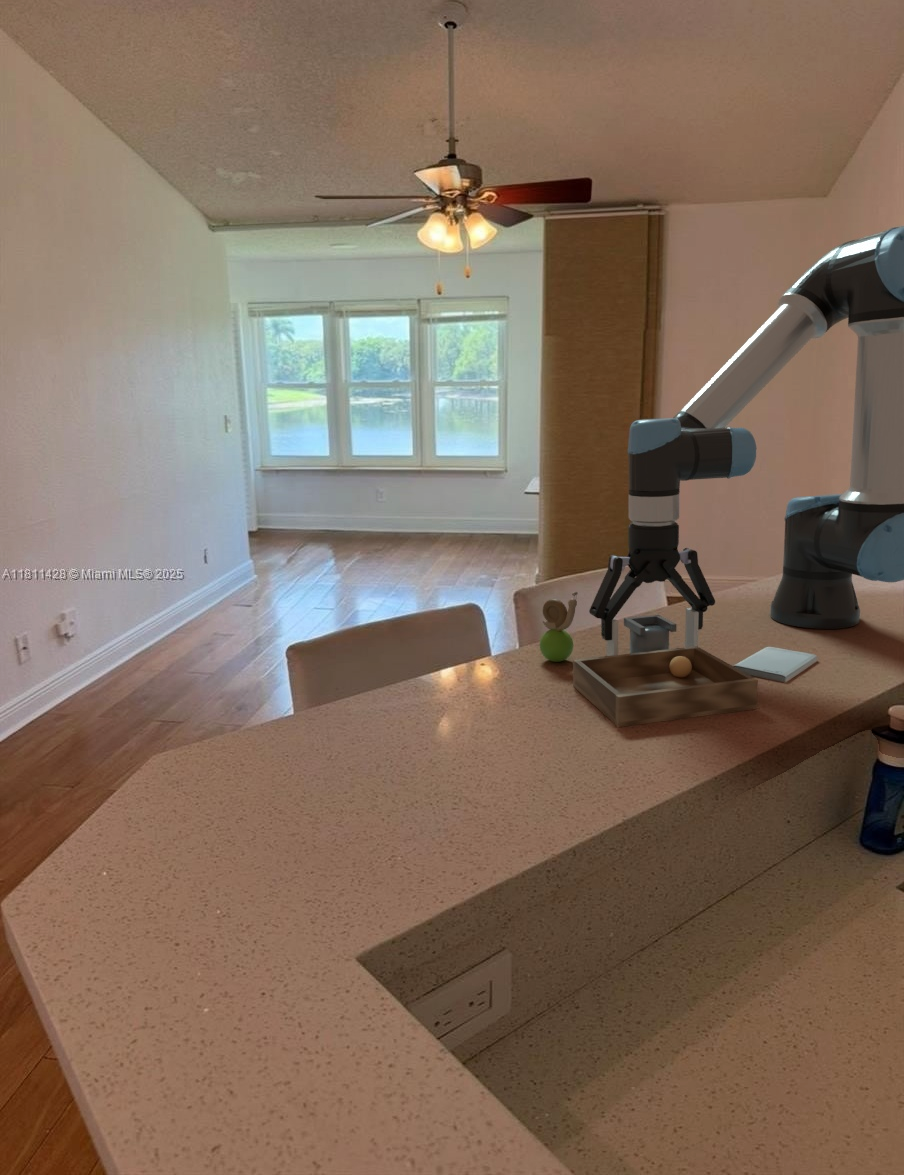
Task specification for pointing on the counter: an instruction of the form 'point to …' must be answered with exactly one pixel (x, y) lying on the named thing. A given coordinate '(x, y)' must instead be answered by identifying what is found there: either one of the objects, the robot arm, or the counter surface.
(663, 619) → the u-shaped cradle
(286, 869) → the counter surface
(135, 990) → the counter surface
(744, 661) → the hard drive
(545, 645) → the snail figurine
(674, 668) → the ball
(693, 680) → the tray
